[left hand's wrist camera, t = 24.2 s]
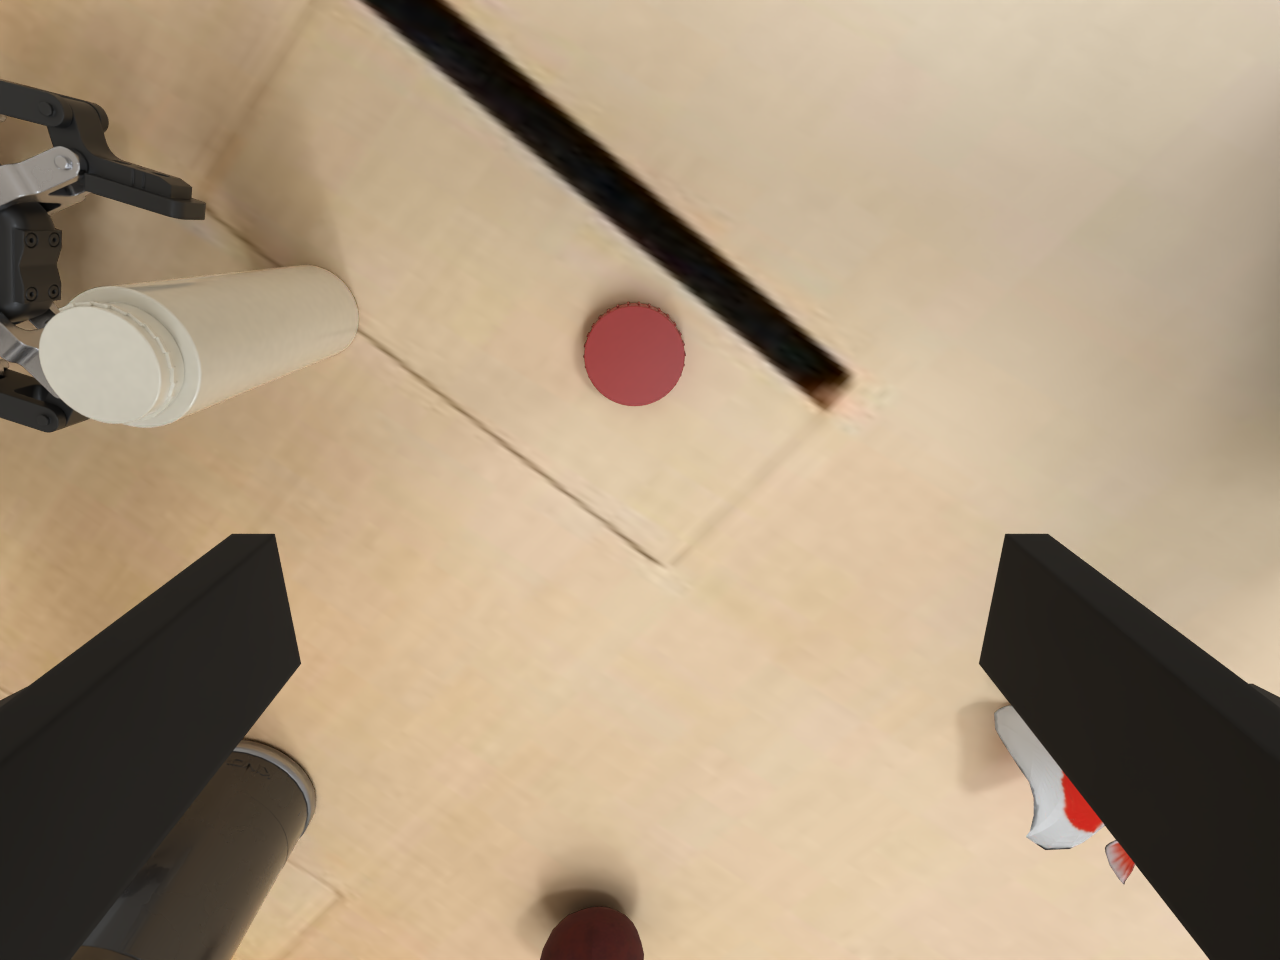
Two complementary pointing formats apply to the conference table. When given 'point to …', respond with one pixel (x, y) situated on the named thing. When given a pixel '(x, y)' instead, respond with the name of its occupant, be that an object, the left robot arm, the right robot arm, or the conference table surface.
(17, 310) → the right robot arm
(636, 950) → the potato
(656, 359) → the lid
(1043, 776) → the fish
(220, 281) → the bottle
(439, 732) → the conference table surface
